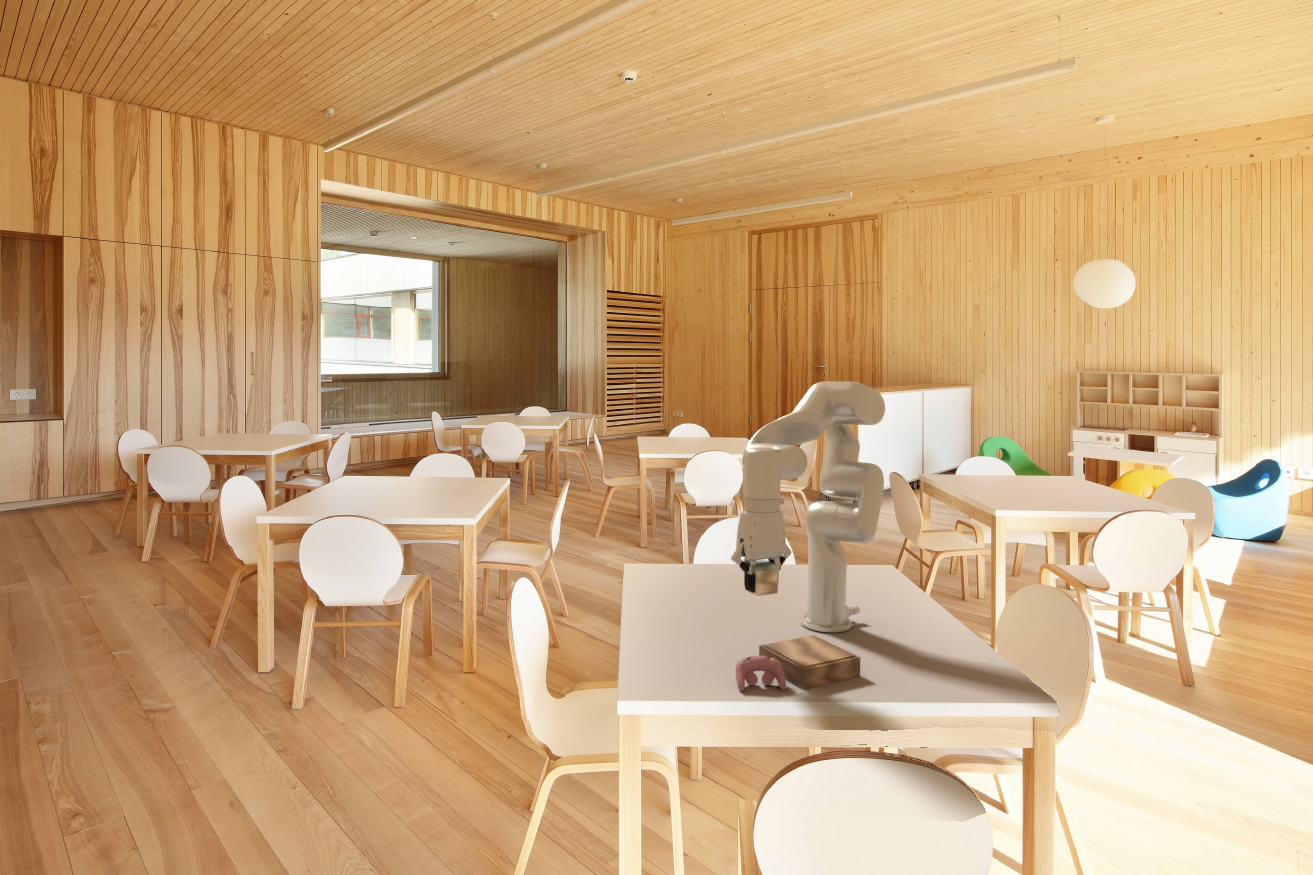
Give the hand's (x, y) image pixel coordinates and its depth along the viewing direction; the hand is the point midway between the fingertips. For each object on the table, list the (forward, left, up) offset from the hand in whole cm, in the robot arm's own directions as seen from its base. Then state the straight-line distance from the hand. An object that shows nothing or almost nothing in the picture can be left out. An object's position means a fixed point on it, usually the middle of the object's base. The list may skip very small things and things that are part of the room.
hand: (761, 588), depth 155 cm
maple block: (0, 0, -1) cm, 1 cm away
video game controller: (+7, +9, -17) cm, 21 cm away
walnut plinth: (-8, +7, -17) cm, 20 cm away
